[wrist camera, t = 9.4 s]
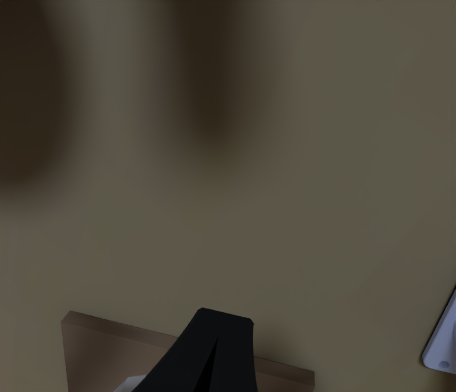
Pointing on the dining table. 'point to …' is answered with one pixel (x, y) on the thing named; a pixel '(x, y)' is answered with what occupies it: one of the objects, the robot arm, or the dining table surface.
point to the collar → (143, 358)
